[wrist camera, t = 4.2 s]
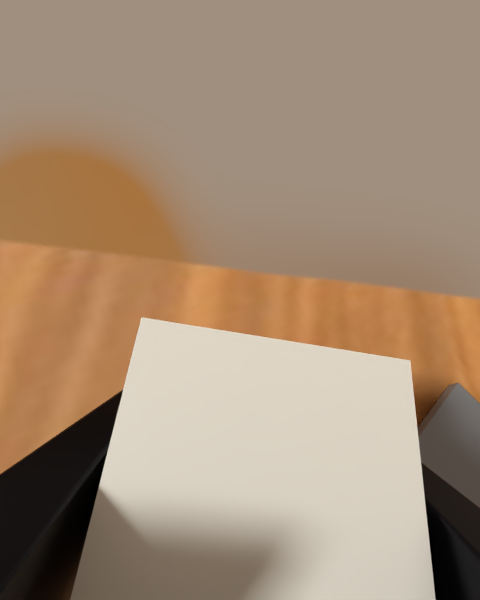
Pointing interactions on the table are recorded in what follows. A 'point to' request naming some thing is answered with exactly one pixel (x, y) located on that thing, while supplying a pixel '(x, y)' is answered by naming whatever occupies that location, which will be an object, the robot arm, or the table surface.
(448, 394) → the slate coaster
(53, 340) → the table surface
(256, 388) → the cream block
